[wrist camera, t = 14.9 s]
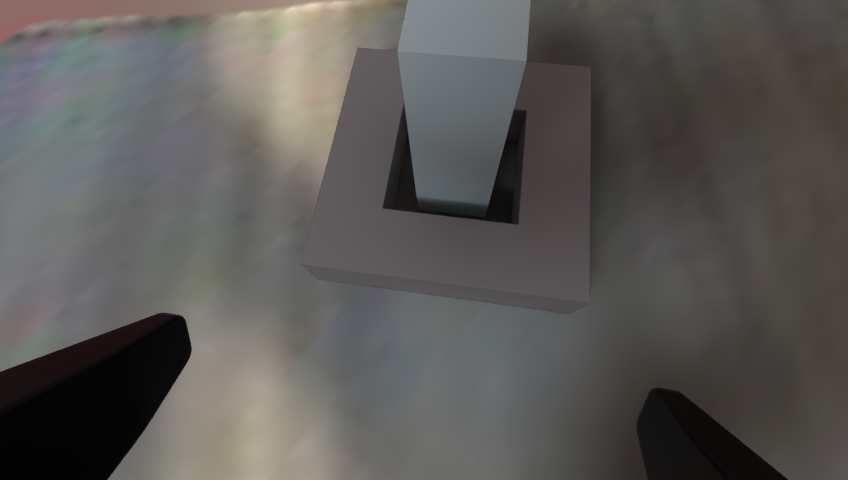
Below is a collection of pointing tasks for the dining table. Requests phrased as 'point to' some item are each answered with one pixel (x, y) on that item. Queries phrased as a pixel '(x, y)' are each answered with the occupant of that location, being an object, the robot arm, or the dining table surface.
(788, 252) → the dining table surface
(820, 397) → the dining table surface
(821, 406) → the dining table surface
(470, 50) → the slate block
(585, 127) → the square socket base
